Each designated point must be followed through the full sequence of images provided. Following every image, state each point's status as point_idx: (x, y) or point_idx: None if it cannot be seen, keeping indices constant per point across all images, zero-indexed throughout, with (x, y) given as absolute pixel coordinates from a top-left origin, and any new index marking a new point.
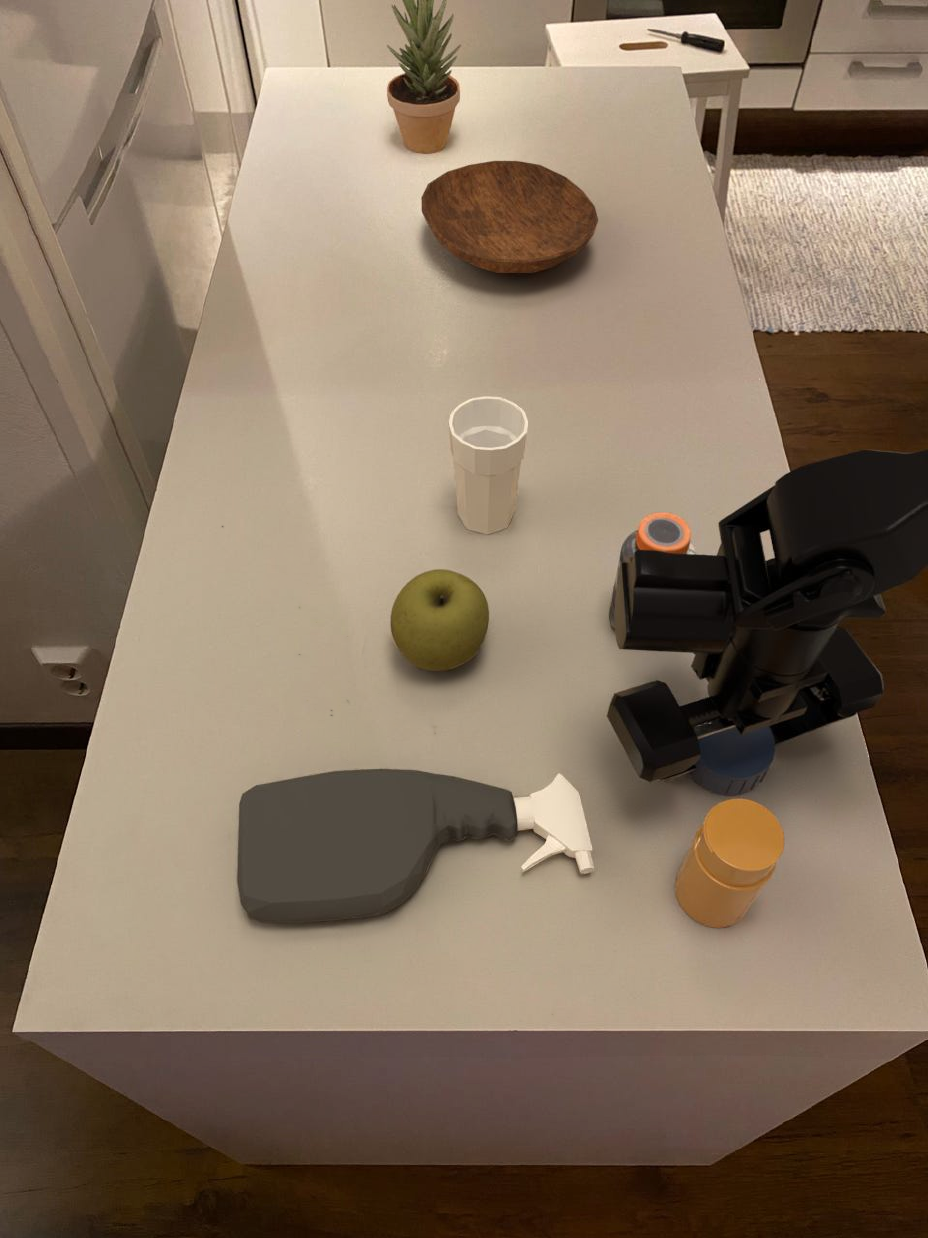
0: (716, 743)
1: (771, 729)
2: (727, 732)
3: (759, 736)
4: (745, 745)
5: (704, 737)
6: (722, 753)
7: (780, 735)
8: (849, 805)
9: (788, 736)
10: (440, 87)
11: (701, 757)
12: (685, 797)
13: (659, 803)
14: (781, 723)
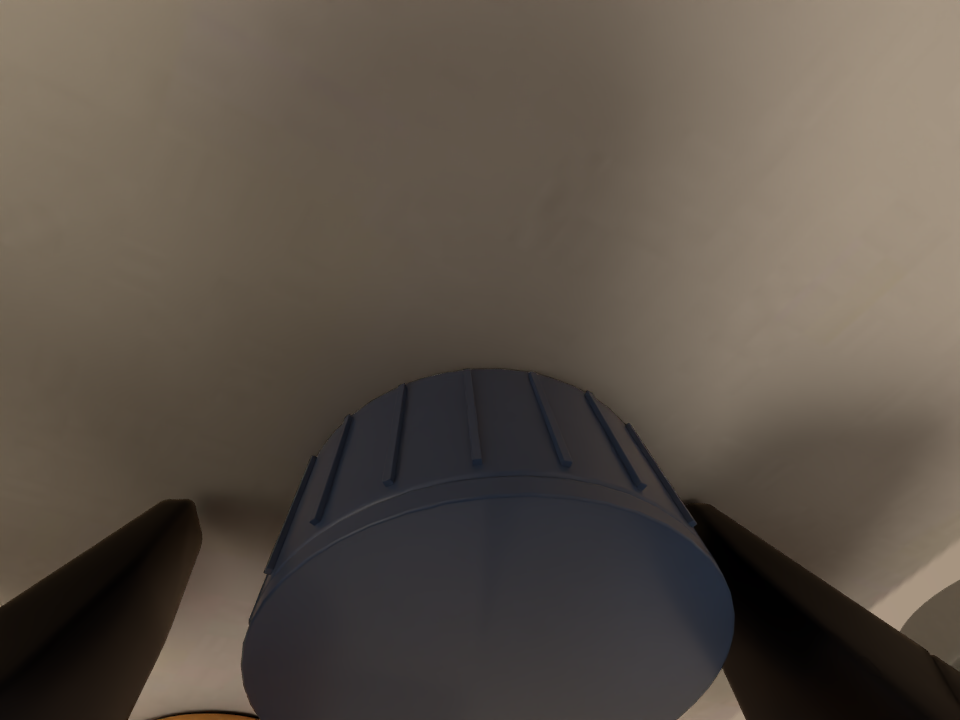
0: (404, 676)
1: (724, 572)
2: (505, 645)
3: (637, 690)
4: (539, 709)
5: (356, 641)
6: (402, 714)
7: None
8: (699, 700)
9: (747, 706)
10: None
11: (278, 708)
12: (255, 583)
13: None
14: (783, 676)
